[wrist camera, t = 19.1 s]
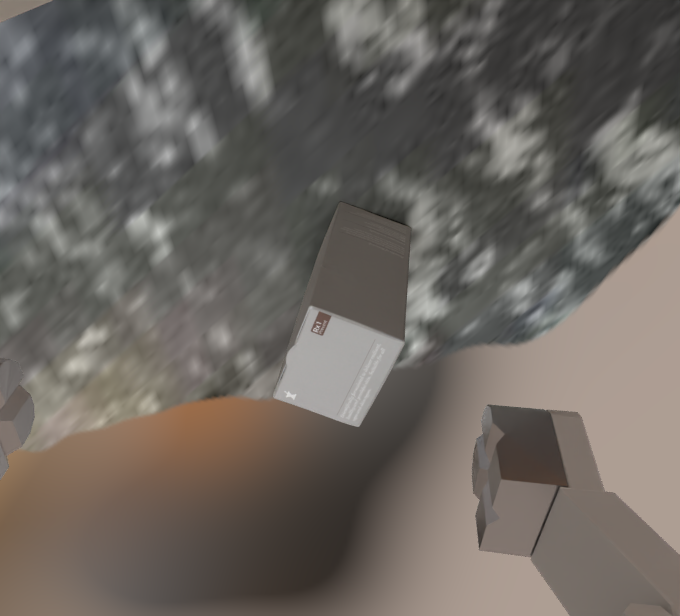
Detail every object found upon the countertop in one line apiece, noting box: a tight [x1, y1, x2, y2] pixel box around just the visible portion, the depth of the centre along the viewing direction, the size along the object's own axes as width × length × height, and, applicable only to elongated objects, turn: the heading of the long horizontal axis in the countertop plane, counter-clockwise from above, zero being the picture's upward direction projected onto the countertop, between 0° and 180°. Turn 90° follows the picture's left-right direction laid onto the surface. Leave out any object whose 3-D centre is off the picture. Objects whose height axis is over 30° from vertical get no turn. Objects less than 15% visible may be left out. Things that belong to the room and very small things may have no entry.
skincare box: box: [273, 202, 411, 427], centre depth 46 cm, size 8×7×16 cm
